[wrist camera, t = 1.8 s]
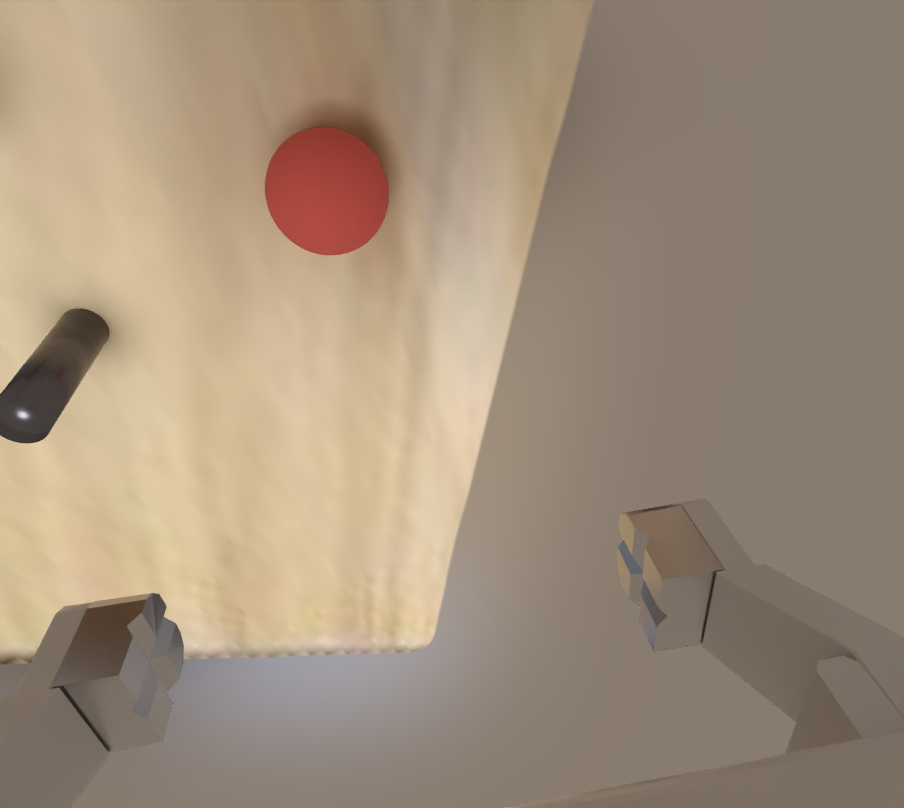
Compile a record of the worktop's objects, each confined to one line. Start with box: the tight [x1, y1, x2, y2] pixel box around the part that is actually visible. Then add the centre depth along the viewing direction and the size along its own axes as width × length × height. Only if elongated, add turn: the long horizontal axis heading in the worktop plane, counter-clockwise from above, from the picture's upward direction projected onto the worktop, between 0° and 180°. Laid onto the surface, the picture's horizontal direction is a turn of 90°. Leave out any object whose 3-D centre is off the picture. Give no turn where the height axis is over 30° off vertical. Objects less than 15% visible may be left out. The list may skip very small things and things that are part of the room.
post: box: [0, 309, 109, 443], centre depth 33 cm, size 3×3×9 cm
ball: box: [265, 127, 389, 255], centre depth 31 cm, size 6×6×6 cm
